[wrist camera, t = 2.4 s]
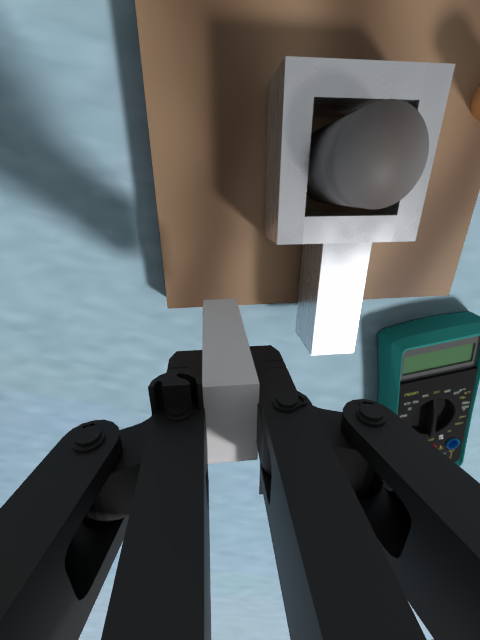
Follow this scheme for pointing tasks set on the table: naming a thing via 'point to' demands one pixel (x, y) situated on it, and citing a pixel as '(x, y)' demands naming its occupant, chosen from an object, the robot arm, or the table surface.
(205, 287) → the board
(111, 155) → the table surface
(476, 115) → the dowel pin
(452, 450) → the digital multimeter
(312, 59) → the grey frame piece
